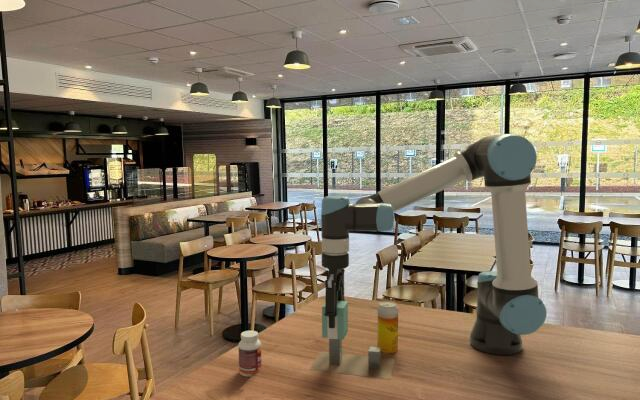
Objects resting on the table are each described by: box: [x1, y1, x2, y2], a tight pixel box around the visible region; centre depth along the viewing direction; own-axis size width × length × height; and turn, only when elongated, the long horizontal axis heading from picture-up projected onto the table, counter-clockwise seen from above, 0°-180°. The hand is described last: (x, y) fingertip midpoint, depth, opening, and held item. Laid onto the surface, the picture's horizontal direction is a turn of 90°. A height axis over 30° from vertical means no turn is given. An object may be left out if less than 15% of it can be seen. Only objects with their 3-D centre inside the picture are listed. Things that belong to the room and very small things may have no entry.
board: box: [309, 350, 396, 380], centre depth 131 cm, size 22×12×1 cm, turn 75°
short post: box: [367, 346, 382, 370], centre depth 129 cm, size 3×3×5 cm
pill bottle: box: [237, 330, 262, 378], centre depth 129 cm, size 6×6×11 cm
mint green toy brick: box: [321, 300, 349, 341], centre depth 131 cm, size 6×6×9 cm
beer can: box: [376, 300, 399, 354], centre depth 140 cm, size 6×6×15 cm
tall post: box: [328, 338, 343, 365], centre depth 132 cm, size 3×3×9 cm
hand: (335, 333), depth 131 cm, fingers closed on mint green toy brick, 6 cm apart
